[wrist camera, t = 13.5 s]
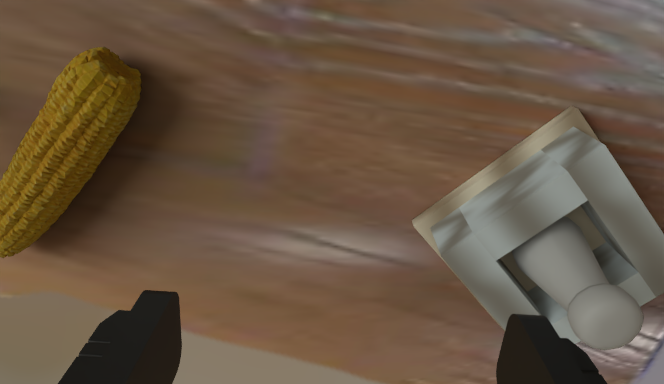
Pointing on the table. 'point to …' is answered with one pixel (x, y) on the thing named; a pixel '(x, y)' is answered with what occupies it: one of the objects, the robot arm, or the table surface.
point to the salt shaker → (579, 285)
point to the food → (65, 144)
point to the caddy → (545, 221)
